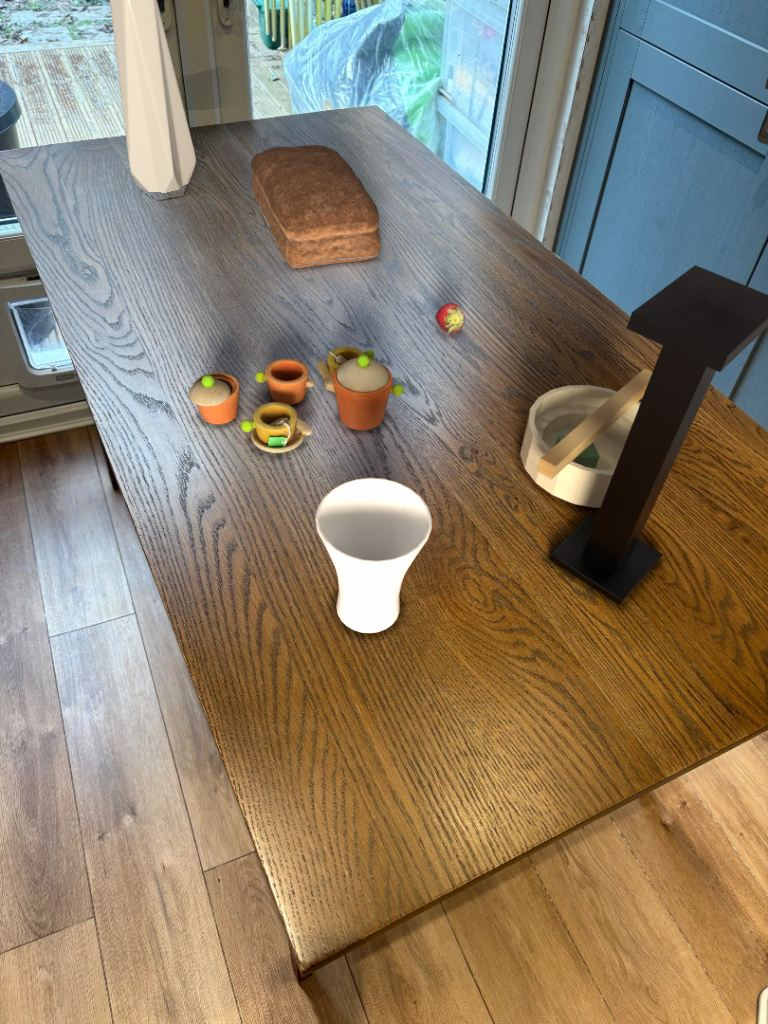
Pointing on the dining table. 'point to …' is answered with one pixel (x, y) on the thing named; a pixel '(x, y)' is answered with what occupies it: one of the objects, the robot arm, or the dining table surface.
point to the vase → (150, 99)
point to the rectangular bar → (593, 426)
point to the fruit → (450, 318)
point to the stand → (662, 420)
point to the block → (585, 455)
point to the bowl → (559, 418)
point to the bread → (315, 206)
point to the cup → (372, 546)
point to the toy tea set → (301, 396)
